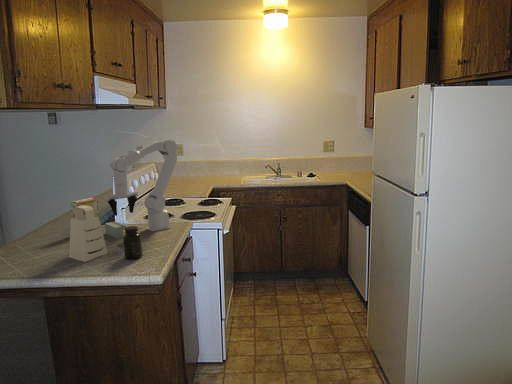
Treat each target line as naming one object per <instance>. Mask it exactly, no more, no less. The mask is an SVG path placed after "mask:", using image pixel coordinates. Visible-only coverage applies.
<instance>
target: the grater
mask: <svg viewBox="0 0 512 384" xmlns="http://www.w3.org/2000/svg"><path fill="white" fill-rule="evenodd" d="M83 209H84V210H85V213H86V215H83ZM74 212H75V218H73V217H71V218H70V224H69V225H70V229H69V232H70V233H69V249H68V250H69V253H68V258H70V259H72V260H73V259H74V260H77V261H80V262H84V263H86V262H89V261H92V260H96V258H98V257H101V256H105V255H106V254H108V248H107V244H106V241H105V240H106V239H105V238H104V236H103V234H104V233H103V229H102V225H101V222H100V216H99V217H98V216H94V209H93V207H91V206H85V205H83V206H78V207H75V209H74ZM97 227H98V228H97ZM93 228H94V229H96V230H92V229H93ZM95 251H96V252H95ZM92 252H93V253H92Z"/></svg>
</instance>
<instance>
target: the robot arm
mask: <svg viewBox="0 0 512 384" xmlns="http://www.w3.org/2000/svg"><path fill="white" fill-rule="evenodd" d="M178 148H179V147H178V144H177V143H176V141H175V140H174V139H172V138H171V139H167V138H166V139H165V138H159V139H158V140H153V142H151V143H149V144H148V145H145V146H144V147H142V148H141V149H139V150H136V149H129V150H128V152H127V153H125V154H120V155H119V157H114V158H113V159H112V160H111V162H110V164H109V165H110V166H109V167H110V168H111V170H112V172H113V173H112V174H113V182H114V183H113V185H114V194H111V195H105V201H106V202H107V203H108V204H109V207H110V209H111V211H112V213H113V216H114V217H116V216H118V207H117V206H118V202H117V201H116V200H120V199H125V198H127V201H128V211H129V213H134V209H135V204H136V202H137V200H138V196H139V195H138V191H129V184H128V176H127V175H128V174H127V170H129V169H128V168H129V167H131V166H133V165H135V164H137V163H139V162H140V161H141V159H142V158H143V157H145V156H147V155H149V154H152V153H154V152H155V151H157V152H159V153H160V154H161V155H162V158H163V159H164V161H163V165H162V166H161V169H160V172H159V174H158V177H157V179H156V183H155V185H154V188H153V189H152V191H149V194H148V196H147V197H146V198H145V199H144V202H143V203H144V206H145V208H146V210H147V223H148V224H147V225H148V226H147V227H145V229H146V230H149V231H151V232H157V231H161V230H167V229H170V228H171V226H170V217H169V216H170V215H169V211H168V210H167V209H165V207H166V199H167V197H166V195H165V194H166V193H165V192H166V191H167V187H168V185H169V183H170V180H171V176H172V174H173V172H174V169H175V166H176V163H177V161H178V153H177V151H178Z"/></svg>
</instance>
